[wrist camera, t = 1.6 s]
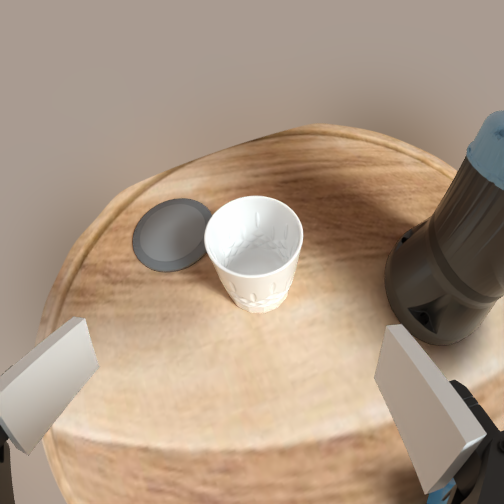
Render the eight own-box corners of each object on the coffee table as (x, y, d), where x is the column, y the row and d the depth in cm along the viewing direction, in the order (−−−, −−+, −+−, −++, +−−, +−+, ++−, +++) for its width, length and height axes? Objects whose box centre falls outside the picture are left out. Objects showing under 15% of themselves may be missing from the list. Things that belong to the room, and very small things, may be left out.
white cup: (285, 327, 28) (291, 288, 20) (213, 308, 30) (189, 263, 21) (301, 262, 32) (310, 204, 23) (235, 247, 34) (223, 189, 25)
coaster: (219, 199, 38) (218, 196, 37) (210, 272, 32) (209, 269, 31) (145, 203, 38) (143, 200, 38) (126, 271, 33) (123, 269, 32)
